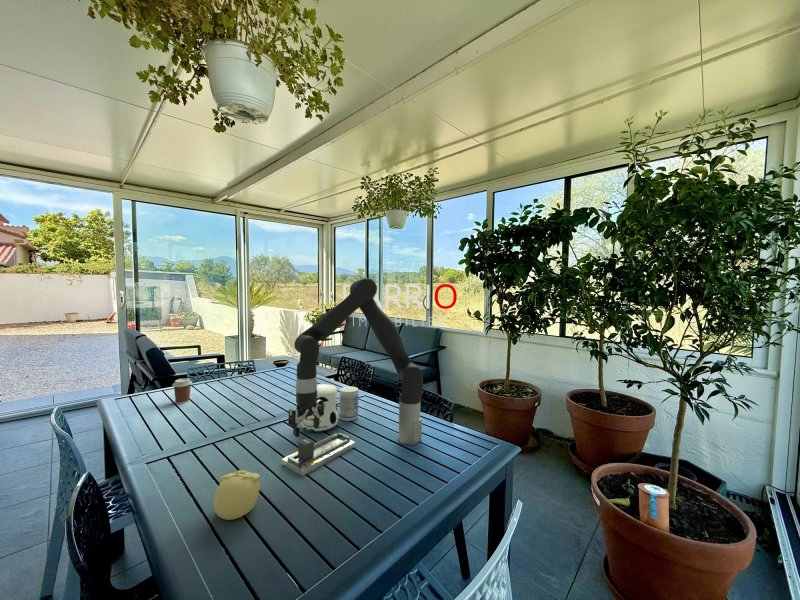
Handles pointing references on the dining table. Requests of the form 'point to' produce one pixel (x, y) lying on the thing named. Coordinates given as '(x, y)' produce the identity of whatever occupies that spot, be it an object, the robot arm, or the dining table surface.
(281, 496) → the dining table surface
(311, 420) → the milk container
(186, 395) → the coffee cup
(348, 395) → the supplement tub
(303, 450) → the fader knob
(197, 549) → the dining table surface
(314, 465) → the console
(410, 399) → the robot arm
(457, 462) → the dining table surface
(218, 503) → the yellow rounded piece
